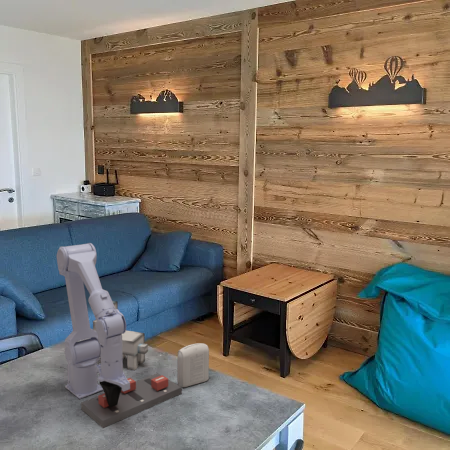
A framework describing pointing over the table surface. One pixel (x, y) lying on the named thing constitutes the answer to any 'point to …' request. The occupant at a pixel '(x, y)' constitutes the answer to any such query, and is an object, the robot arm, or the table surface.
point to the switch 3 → (159, 382)
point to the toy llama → (132, 346)
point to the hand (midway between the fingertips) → (112, 405)
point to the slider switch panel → (130, 402)
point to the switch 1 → (103, 400)
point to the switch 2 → (132, 385)
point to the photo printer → (193, 364)
